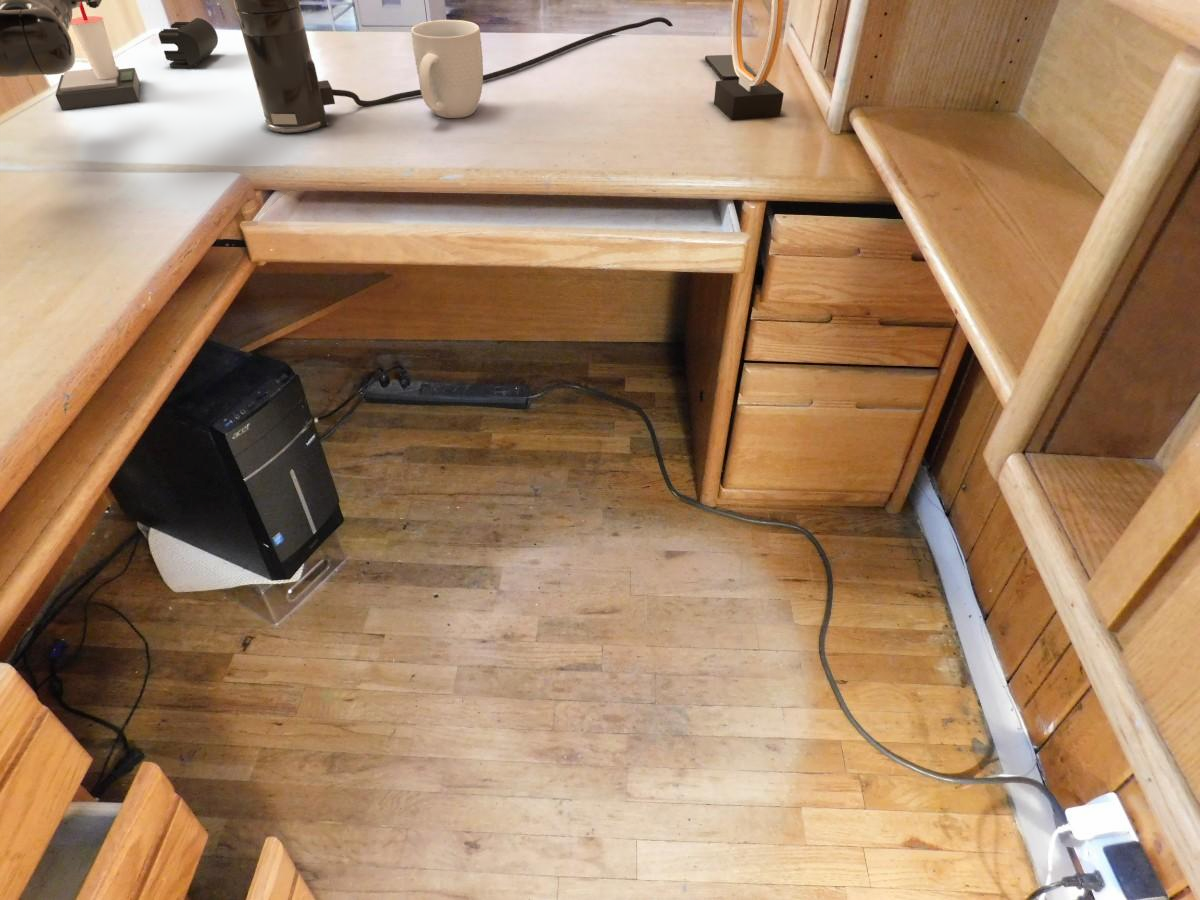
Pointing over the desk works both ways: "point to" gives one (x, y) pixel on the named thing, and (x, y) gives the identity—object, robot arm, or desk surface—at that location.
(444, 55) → the mug
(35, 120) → the desk surface
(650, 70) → the desk surface
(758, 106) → the lamp
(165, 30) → the end cap
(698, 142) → the desk surface
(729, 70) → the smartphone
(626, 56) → the desk surface
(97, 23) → the cup
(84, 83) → the scale
